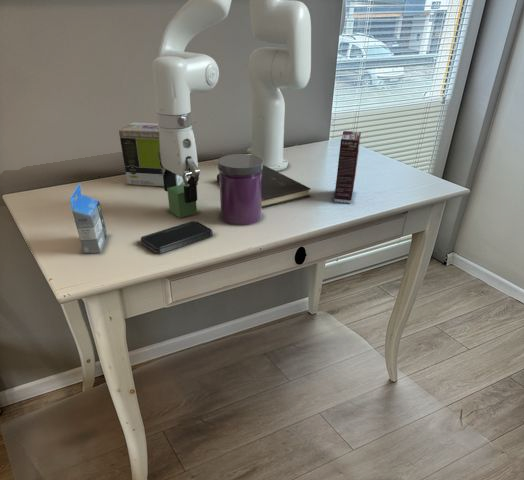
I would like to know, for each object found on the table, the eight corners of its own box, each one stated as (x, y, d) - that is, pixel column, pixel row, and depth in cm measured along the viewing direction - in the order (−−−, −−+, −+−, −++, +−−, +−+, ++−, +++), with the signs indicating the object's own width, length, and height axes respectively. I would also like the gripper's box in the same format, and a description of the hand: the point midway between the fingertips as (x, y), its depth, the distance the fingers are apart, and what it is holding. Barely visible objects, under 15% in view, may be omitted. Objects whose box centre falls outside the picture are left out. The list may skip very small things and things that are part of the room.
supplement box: (351, 204, 130) (359, 140, 120) (333, 202, 131) (339, 139, 121) (353, 192, 137) (361, 131, 127) (336, 190, 137) (342, 130, 127)
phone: (214, 231, 113) (157, 249, 105) (214, 235, 114) (157, 254, 106) (194, 220, 118) (138, 237, 110) (195, 224, 118) (139, 241, 110)
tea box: (188, 177, 145) (183, 123, 136) (177, 188, 137) (172, 132, 128) (139, 173, 147) (131, 120, 138) (126, 185, 139) (117, 129, 130)
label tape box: (101, 253, 106) (89, 197, 99) (81, 254, 106) (68, 198, 98) (107, 235, 113) (97, 182, 106) (89, 236, 113) (77, 182, 105)
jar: (212, 215, 123) (209, 159, 115) (245, 205, 128) (244, 151, 120) (236, 229, 117) (235, 171, 108) (270, 218, 122) (272, 162, 113)
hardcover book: (263, 172, 149) (263, 164, 147) (309, 196, 134) (310, 188, 132) (216, 182, 142) (216, 174, 140) (260, 208, 127) (260, 199, 125)
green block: (169, 211, 125) (167, 188, 121) (186, 207, 127) (184, 183, 123) (179, 218, 122) (177, 194, 118) (197, 213, 124) (195, 189, 120)
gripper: (209, 126, 107) (213, 203, 118) (169, 111, 118) (176, 183, 129) (179, 131, 104) (185, 210, 114) (141, 115, 114) (150, 189, 125)
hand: (180, 195), depth 121 cm, fingers open, 9 cm apart
